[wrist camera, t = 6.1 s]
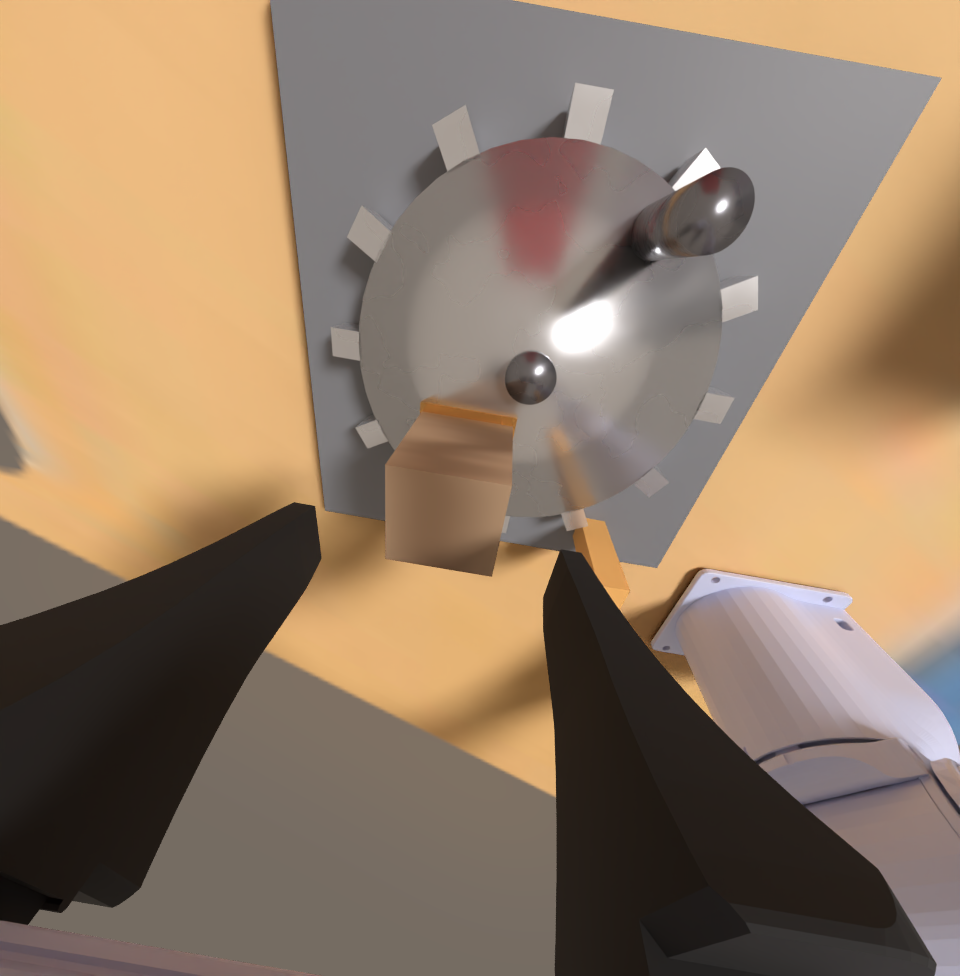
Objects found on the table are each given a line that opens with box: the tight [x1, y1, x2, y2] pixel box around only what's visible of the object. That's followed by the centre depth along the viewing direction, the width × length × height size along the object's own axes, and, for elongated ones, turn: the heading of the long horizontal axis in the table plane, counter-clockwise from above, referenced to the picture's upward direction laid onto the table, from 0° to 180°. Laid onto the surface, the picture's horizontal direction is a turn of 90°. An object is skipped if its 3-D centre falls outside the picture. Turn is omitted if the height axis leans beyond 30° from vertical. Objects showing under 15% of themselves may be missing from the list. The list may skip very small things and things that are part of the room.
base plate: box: [270, 0, 941, 610], centre depth 14 cm, size 20×20×6 cm
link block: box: [385, 411, 513, 577], centre depth 14 cm, size 4×4×5 cm
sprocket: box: [331, 83, 758, 533], centre depth 13 cm, size 16×16×5 cm
